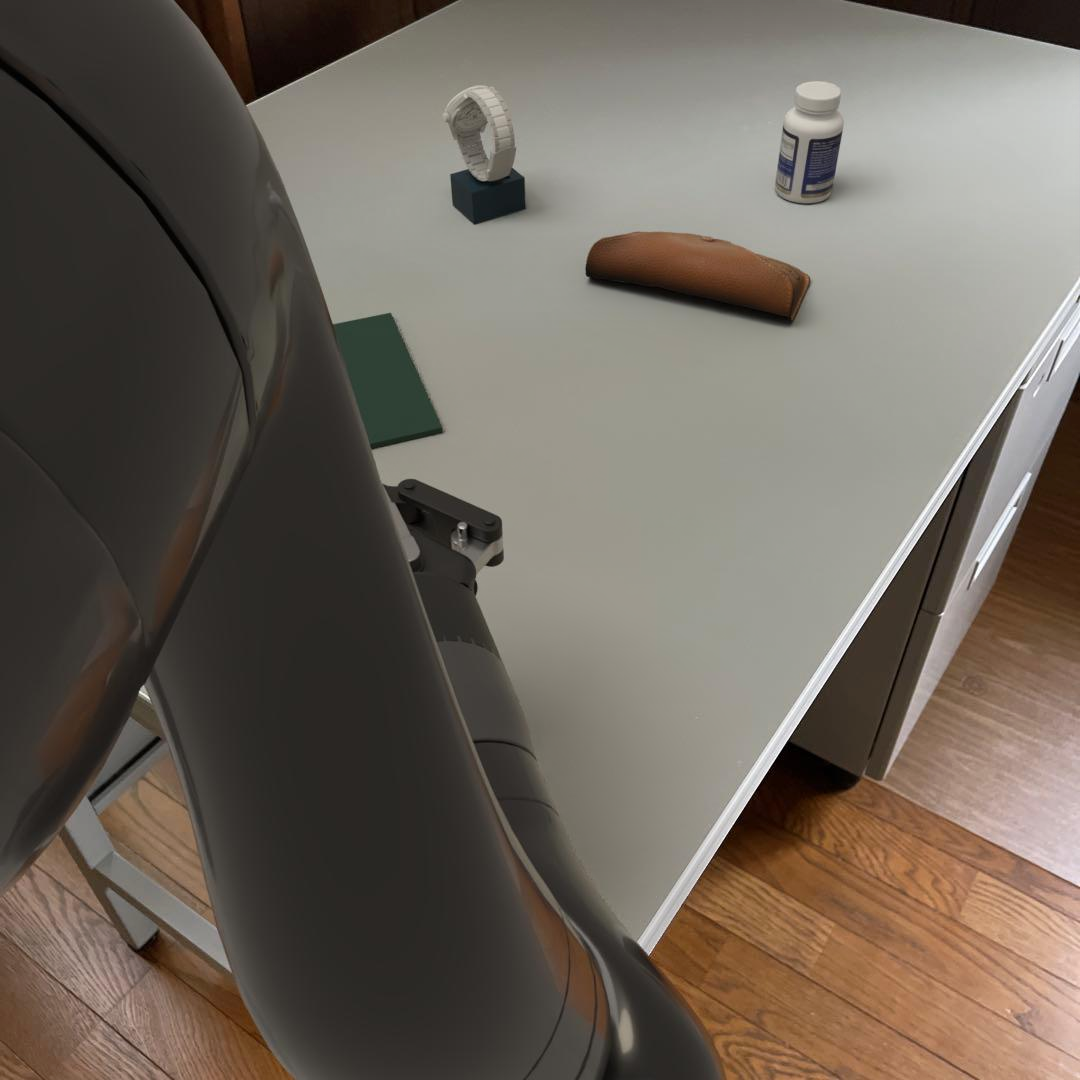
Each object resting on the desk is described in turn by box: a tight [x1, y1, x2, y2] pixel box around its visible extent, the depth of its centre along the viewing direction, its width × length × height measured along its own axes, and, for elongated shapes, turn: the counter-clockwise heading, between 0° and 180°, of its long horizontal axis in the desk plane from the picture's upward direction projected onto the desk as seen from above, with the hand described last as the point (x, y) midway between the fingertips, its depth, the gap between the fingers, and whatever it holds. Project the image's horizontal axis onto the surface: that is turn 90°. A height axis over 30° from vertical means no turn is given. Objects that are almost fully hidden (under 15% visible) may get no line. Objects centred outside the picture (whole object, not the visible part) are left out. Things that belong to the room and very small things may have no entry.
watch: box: [441, 84, 527, 225], centre depth 101 cm, size 6×8×11 cm
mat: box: [333, 312, 443, 450], centre depth 84 cm, size 18×16×1 cm
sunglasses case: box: [584, 231, 811, 322], centre depth 93 cm, size 18×7×7 cm, turn 67°
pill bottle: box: [774, 80, 845, 204], centre depth 102 cm, size 5×5×10 cm
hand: (338, 454), depth 58 cm, fingers closed
